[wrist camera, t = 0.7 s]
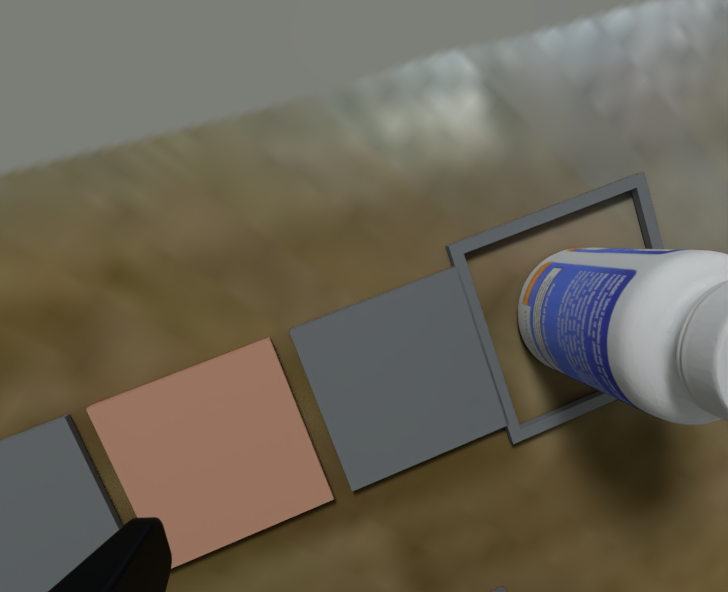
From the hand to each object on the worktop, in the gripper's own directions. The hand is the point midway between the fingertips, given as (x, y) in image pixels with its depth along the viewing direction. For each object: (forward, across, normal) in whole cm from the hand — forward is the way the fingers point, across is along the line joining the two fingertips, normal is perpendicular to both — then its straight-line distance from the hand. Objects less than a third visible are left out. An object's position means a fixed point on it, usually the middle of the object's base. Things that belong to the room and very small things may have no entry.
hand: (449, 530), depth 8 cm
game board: (+12, +4, +6) cm, 14 cm away
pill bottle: (+15, -7, +4) cm, 17 cm away
